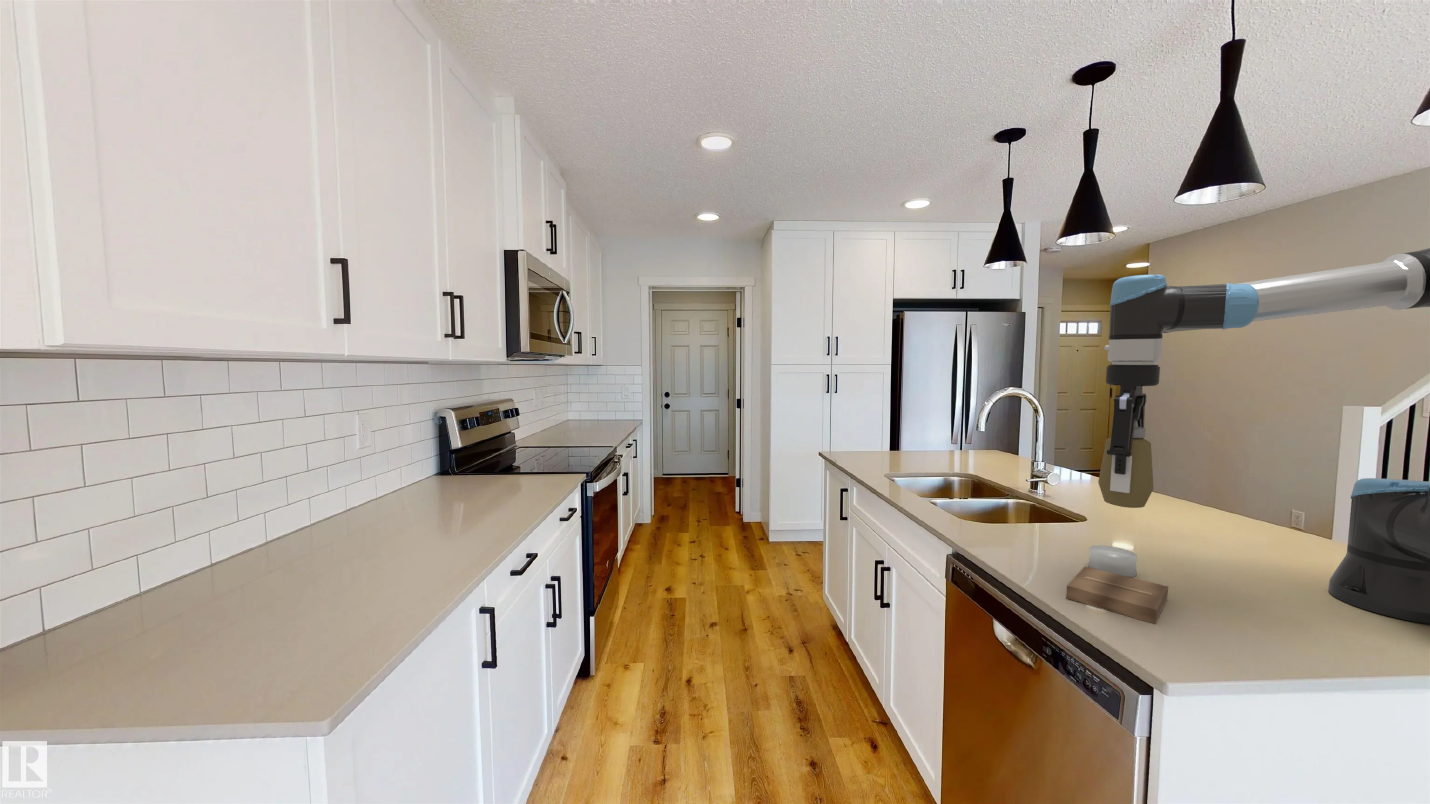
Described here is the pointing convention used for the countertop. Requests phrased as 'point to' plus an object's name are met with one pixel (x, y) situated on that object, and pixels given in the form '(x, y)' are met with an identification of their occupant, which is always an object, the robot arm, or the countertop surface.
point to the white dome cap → (1113, 560)
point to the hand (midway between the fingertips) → (1124, 486)
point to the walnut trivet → (1118, 594)
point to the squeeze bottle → (1139, 473)
